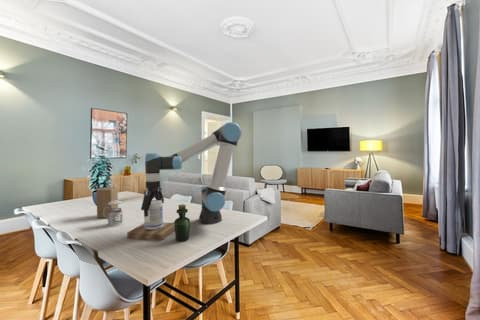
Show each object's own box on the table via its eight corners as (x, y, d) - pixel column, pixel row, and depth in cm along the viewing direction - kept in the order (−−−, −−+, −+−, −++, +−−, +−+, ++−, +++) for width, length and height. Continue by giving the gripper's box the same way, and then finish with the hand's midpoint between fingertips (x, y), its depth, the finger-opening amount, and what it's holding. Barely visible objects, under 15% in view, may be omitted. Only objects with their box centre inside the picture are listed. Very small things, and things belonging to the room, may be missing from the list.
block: (104, 214, 158) (103, 187, 158) (118, 214, 159) (118, 187, 158) (96, 218, 148) (95, 189, 148) (111, 218, 149) (111, 189, 148)
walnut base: (177, 228, 130) (177, 223, 130) (162, 240, 112) (162, 234, 112) (146, 226, 132) (145, 221, 132) (127, 238, 114) (127, 232, 114)
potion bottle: (190, 241, 110) (190, 206, 109) (174, 243, 108) (173, 207, 107) (189, 235, 118) (189, 203, 117) (174, 237, 116) (173, 204, 115)
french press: (126, 224, 137) (126, 185, 136) (106, 229, 128) (105, 187, 127) (121, 220, 143) (120, 183, 142) (101, 225, 135) (100, 185, 134)
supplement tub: (164, 228, 121) (164, 202, 120) (146, 231, 115) (146, 204, 115) (160, 223, 129) (160, 199, 128) (143, 226, 123) (142, 201, 123)
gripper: (157, 177, 134) (158, 211, 134) (133, 183, 109) (134, 225, 110) (169, 178, 133) (169, 212, 134) (147, 184, 108) (147, 225, 109)
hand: (153, 218), depth 122 cm, fingers open, 13 cm apart
